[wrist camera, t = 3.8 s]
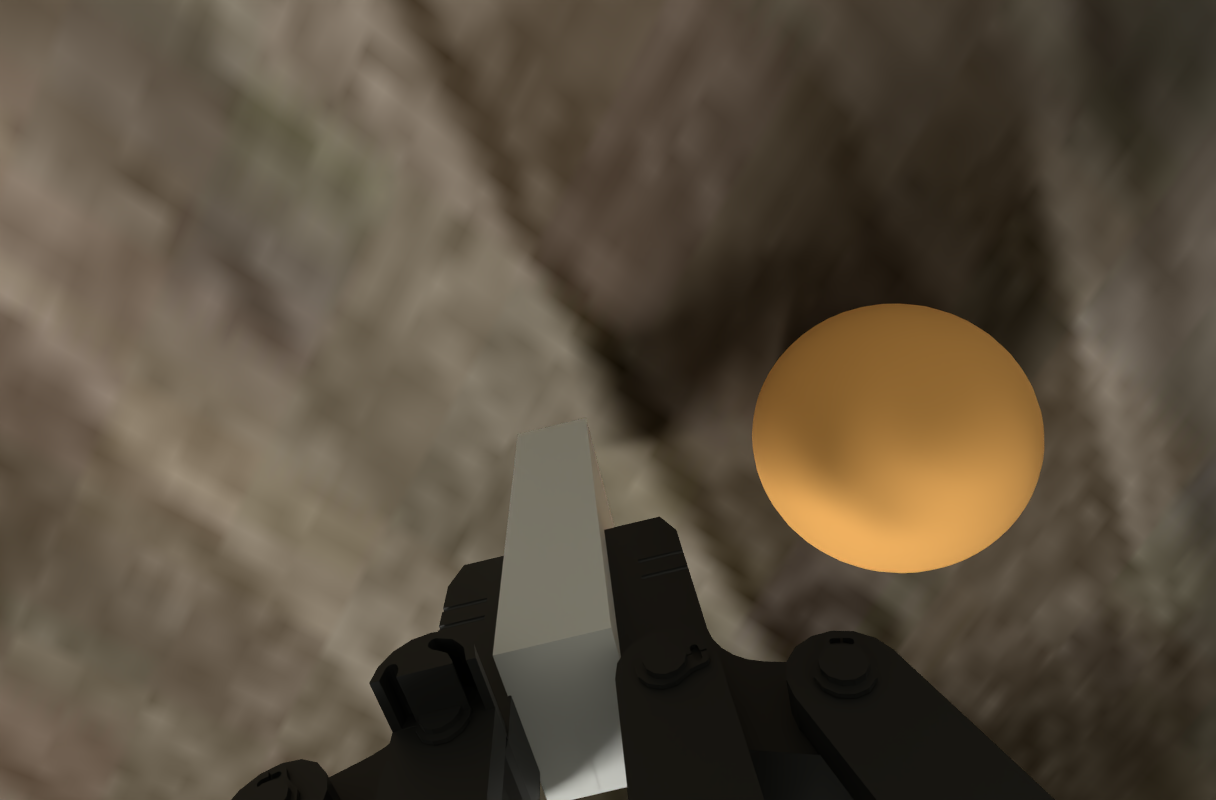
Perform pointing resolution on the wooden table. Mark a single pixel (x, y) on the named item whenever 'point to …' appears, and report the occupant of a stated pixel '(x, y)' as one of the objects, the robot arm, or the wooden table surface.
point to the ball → (898, 438)
